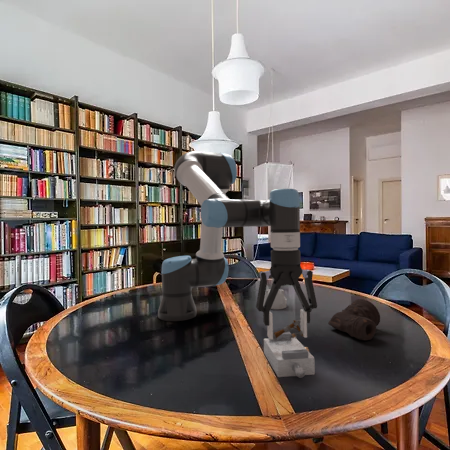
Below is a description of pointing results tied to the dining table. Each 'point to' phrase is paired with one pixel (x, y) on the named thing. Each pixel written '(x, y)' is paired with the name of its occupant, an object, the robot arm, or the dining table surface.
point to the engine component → (277, 299)
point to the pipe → (357, 320)
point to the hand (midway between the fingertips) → (287, 336)
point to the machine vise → (289, 356)
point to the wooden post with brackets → (287, 328)
